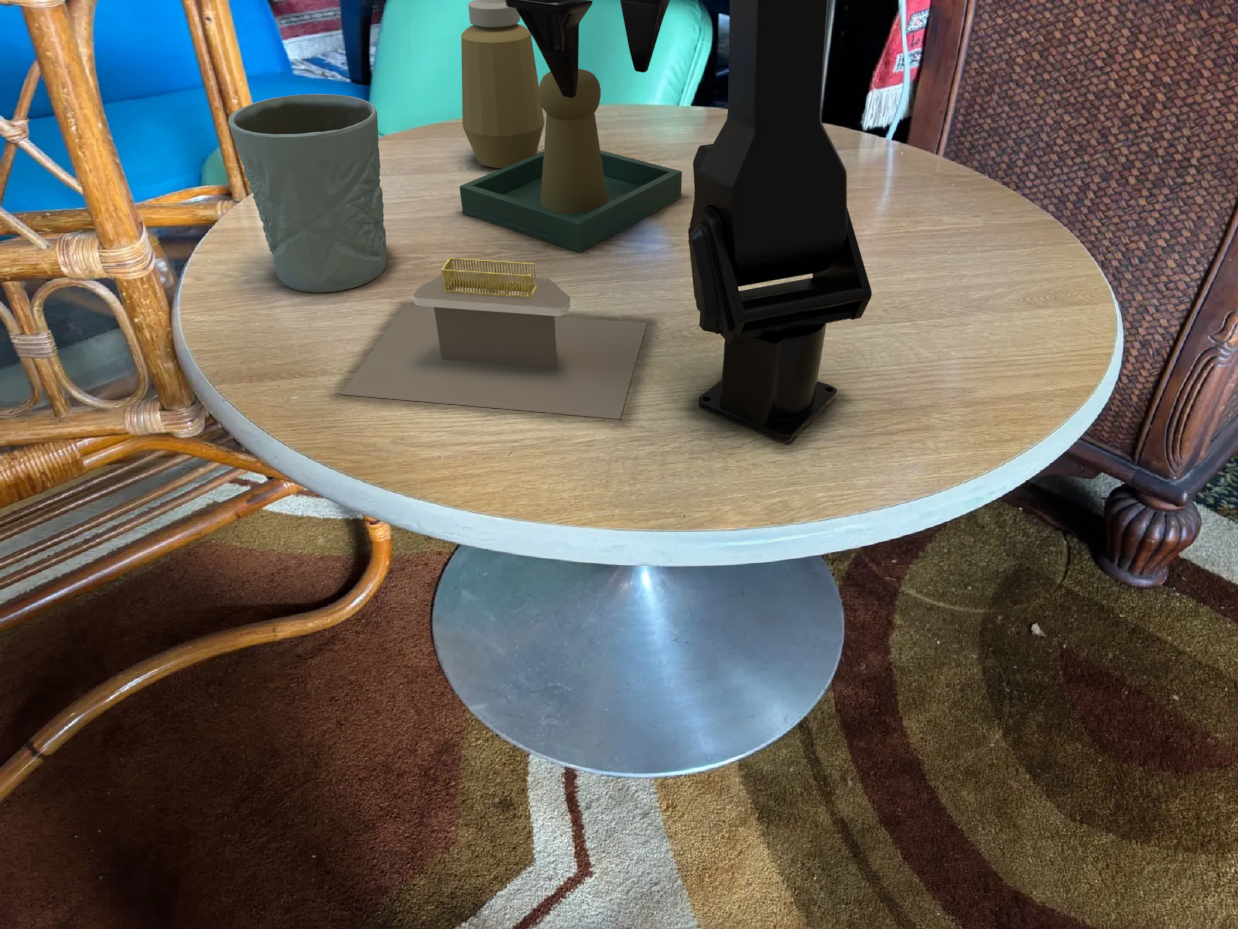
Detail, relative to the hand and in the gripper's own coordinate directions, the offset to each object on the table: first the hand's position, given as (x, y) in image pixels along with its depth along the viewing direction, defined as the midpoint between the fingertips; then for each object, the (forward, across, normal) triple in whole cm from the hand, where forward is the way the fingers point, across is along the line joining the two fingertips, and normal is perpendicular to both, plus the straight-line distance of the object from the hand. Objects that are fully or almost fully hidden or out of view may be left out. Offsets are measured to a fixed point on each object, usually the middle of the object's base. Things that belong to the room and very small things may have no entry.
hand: (606, 83), depth 71 cm
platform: (+12, -22, -8) cm, 26 cm away
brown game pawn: (+11, +1, +5) cm, 12 cm away
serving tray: (+11, +1, +5) cm, 12 cm away
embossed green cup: (+12, -20, +12) cm, 26 cm away
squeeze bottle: (+11, +6, +18) cm, 22 cm away
